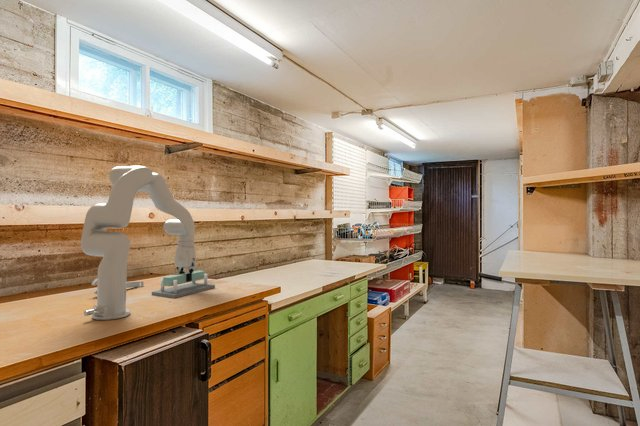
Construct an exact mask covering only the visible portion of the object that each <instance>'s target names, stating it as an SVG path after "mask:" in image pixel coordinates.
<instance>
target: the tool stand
mask: <svg viewBox="0 0 640 426" xmlns="http://www.w3.org/2000/svg"><path fill="white" fill-rule="evenodd" d="M208 280H209V279H208V273H205V274H204V279H203V282H197V281H192V282H188V283H183V284H179V285H177V280H174V283H173V286H170V287H168V288H165V286H163V277H162V278H160V289H158V290H155V291H151V296H154V297H155V296H156V297H162V298H163V297H164V298H170V299H177V298H180V297H184V296H185V297H186V296H188V295H193V294H196V293H200V292H204V291H207V290H211V289H215V287H216V285H215V284H212V283H208Z"/></svg>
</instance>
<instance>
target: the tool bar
mask: <svg viewBox="0 0 640 426" xmlns="http://www.w3.org/2000/svg"><path fill="white" fill-rule="evenodd" d="M186 274H187V272H185V273H183V274H179V273H178V274H173V275H168V276H164V277H162V278H163V286H164V287H173V283H174V280H177V286H180V285H184V284H189V283H192V281H196V282H197V281H200V280H204V274H206V270H200V269H199V270H194V271H193V273H192V281H189V282H187V281H186Z"/></svg>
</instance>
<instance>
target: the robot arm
mask: <svg viewBox="0 0 640 426" xmlns="http://www.w3.org/2000/svg"><path fill="white" fill-rule="evenodd" d="M108 177H109V181H110V183H111V184H112V186H111V189H110V192H109V196H108V199H107V203H96V204H94V205H92V206H90V207H89V208H88V211H87V212H86V214H85V218H84V221H83V222H84V223H83V228H82V231H81V237H80V238H81V239H80V248H81V251H82V252H83V253H84V254H85V255H87V256H91V257H102V260H101V261H100V262H99V264H98V268H97V279H98V284H97V285H96V286H97V289H96V290H97V294H96V296H97V297H96V305H93V308H92V309H86V310H84V311H83V316H85V317H87V316H91V318H92V319H94V320H98V321H99V320H100V321H111V320H116V319H122V318H124V317H125V318H126V317H128V316H129V315H131V309H129V308H127V288H126V282H127V274H128V273H127V270H128V269H127V265H128V258H129V252H130V249H131V241H130V240H131V239H130V238H129V236H128V235H126V234H125V233H122V232H119V231H107V229H124V228H126V227H127V226H128V225H129V224H130V222H131V221H130V220H131V217H132V212H133V206H134V201H135V197H136V194H137V193H147V194H148V195H149V197H150V199H151V201H152V203H153V205H154V207H155V209H157V210H159V211H161V212H163V213H164V214H168V215H169V216H170V215H171V216H172V217H174V218H173V219H172V218H171V219H168V220H166V221H165V222H164V223H163V226H162V227H163V231H164V232H165V233H166V234H168V235H171V236H172V235H173V236H174V235H175V236H177V246H176V247H175V248H176V249H175V254H174V264H173V266H174V268H176V270H177V272H178V274H183V273H187V274H186V281H187V282H188V283H190V282H189V281H192V273H193V271H196V269H198V265H197V255H196V247H195V230H196V227H195V225H196V224H195V221H194V218H193V217H192V215H191V213H190V211H189V210H188V209H187V208H186V207H184V206H183V205H182V204H181V203H180V202H178V201H177V200H175V199H174V196H173V195H172V192H171V190H170V189H169V187H168V184H167V182H166V179H165V178H164V176H163V175H162V174H160V173H157V172H153V170H152V169H151V168H149V167H147V166H145V165H130V166H129V165H126V166H125V165H124V166H123V165H121V166H119V165H118V166H115V167H113V168H111V170H110V172H109V176H108ZM185 268H186V270H187V271H186V272H185Z"/></svg>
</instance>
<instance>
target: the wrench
mask: <svg viewBox="0 0 640 426" xmlns="http://www.w3.org/2000/svg"><path fill="white" fill-rule="evenodd" d="M144 284H145V283H144V281H143V280H135V281H126V289H129V288H131V289H132V288H142V287H143V286H144ZM97 285H98V278H95V279H94V280H93V281H92V282H91V286H97ZM93 294H96V295H97V289H95V290H93Z"/></svg>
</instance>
